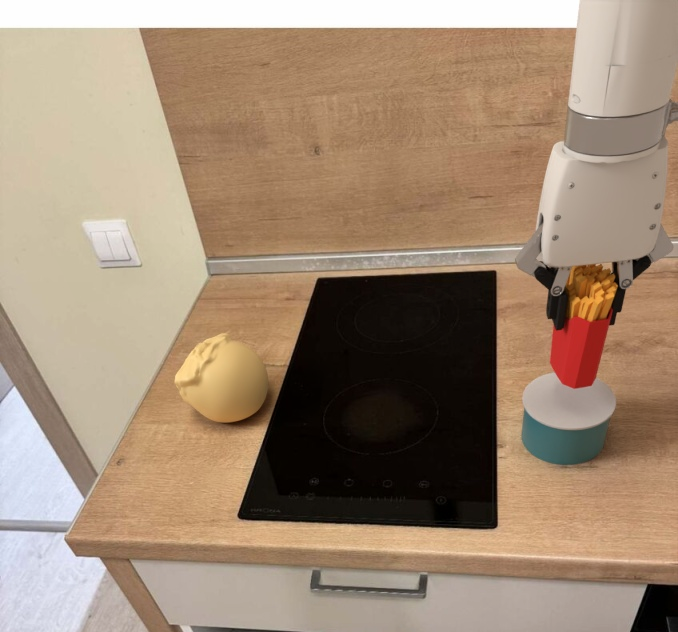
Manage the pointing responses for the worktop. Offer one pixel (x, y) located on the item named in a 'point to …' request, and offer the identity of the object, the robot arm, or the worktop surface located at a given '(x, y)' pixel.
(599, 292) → the french fries
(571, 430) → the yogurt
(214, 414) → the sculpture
